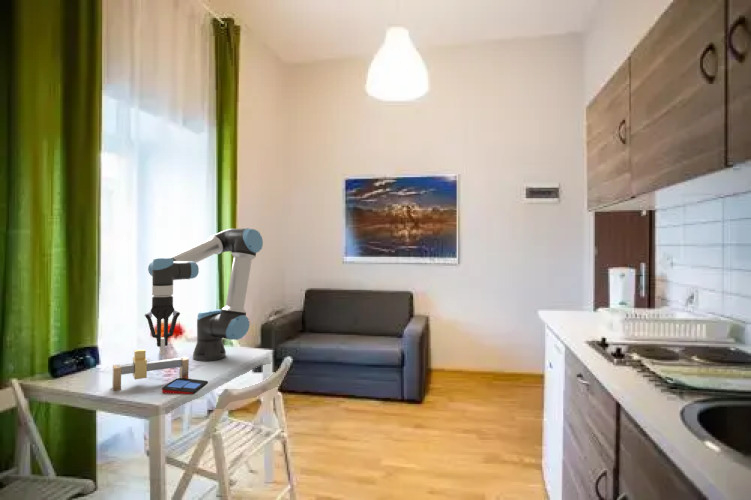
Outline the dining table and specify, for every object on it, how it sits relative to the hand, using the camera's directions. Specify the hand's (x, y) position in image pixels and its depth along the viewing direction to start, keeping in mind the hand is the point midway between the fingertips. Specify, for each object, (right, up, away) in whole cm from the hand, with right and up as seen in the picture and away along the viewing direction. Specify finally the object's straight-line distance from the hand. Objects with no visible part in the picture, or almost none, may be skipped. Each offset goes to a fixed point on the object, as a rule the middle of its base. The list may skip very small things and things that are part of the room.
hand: (162, 354), depth 176 cm
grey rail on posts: (-3, -11, -2) cm, 12 cm away
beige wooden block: (-7, -8, -5) cm, 11 cm away
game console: (+12, -12, -6) cm, 18 cm away
